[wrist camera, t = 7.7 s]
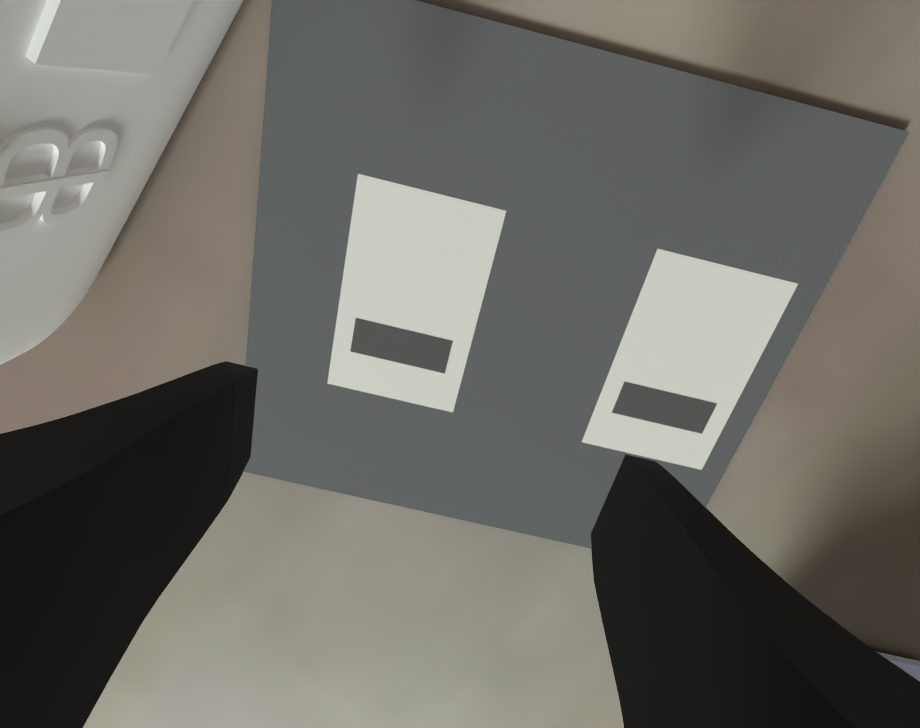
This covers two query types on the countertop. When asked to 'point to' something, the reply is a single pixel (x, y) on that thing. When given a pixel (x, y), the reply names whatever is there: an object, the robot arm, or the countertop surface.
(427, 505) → the label mat
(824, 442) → the countertop surface
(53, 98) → the cable organizer
